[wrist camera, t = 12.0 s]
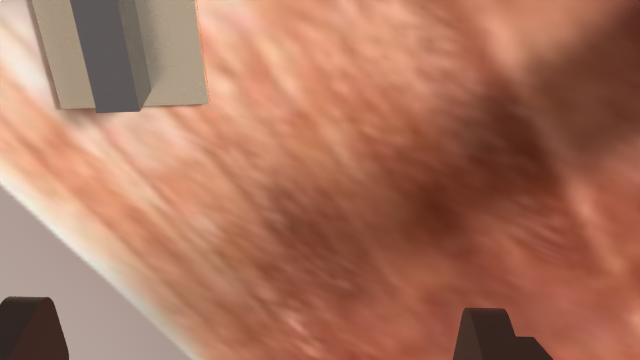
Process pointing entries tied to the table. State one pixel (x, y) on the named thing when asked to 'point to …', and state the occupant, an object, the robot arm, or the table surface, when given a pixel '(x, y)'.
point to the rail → (123, 53)
